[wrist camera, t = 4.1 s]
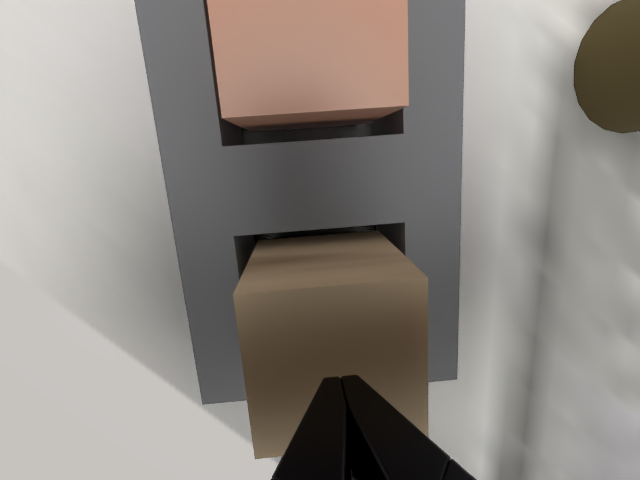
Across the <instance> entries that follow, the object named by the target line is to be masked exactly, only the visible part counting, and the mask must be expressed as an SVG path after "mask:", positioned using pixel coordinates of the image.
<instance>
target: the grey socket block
mask: <svg viewBox="0 0 640 480" xmlns="http://www.w3.org/2000/svg"><path fill="white" fill-rule="evenodd" d="M134 1H135V7H136V13H137V19H138V25H139V31H140V37H141V43H142V49H143V55H144V61H145V67H146V73H147V78H148V84H149V90H150V96H151V102H152V108H153V114H154V120H155V126H156V132H157V138H158V144H159V150H160V155H161V161H162V167H163V173H164V179H165V185H166V191H167V197H168V203H169V209H170V215H171V221H172V227H173V232H174V238H175V244H176V250H177V256H178V262H179V268H180V274H181V280H182V286H183V292H184V298H185V304H186V309H187V315H188V321H189V327H190V333H191V339H192V345H193V351H194V357H195V363H196V369H197V375H198V381H199V386H200V392H201V398H202V404H213V403H224V402H234V401H244V400H247V396H246V388H245V381H244V373H243V366H242V359H241V351H240V344H239V336H238V329H237V322H236V314H235V307H234V299H233V293H234V291H235V289H236V287H237V285H238V282H239V280H240V278H241V276H242V274H243V272H244V270H245V267H246V265H247V263H248V261H249V259H250V257H251V255H252V253H253V250H254V248H255V237H254V234H266V233H279V232H291V231H304V230H316V229H329V228H341V227H353V226H366V225H376V231H379V232H380V233H381V234H382V235H384V236H385V237H386V238H387V239H388V240H389V241H390V242H391V243H392V244H393V245H394V246H395V247H396V248H397V249H398V250H400V251H401V252H402V253H403V254H404V255H405V256H406V257H407V258H408V259H409V260H410V261H411V262H412V263H413V264H414V265H415V266H417V267H418V268H419V269H420V270H421V271H422V272H423V273H424V274H425V275H426V276H427V277H428V382H434V381H445V380H455V379H457V363H458V317H459V271H460V225H461V179H462V133H463V87H464V41H465V0H408V77H409V106H407V107H404V108H402V109H400V110H398V111H396V112H393V113H391V114H389V115H387V116H384V117H382V118H380V119H378V120H376V121H373V136H365V137H351V138H337V139H323V140H308V141H294V142H280V143H266V144H252V145H244V142H243V133H242V128H241V127H239V126H237V125H235V124H233V123H231V122H229V121H227V120H225V119H223V118H222V115H221V107H220V100H219V92H218V84H217V76H216V68H215V60H214V52H213V45H212V37H211V29H210V21H209V13H208V5H207V0H134Z"/></svg>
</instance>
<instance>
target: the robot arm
mask: <svg viewBox="0 0 640 480" xmlns="http://www.w3.org/2000/svg"><path fill="white" fill-rule="evenodd" d="M271 480H476V479H475V478H474V477H473V476H471V475H470V474H469V473H468V472H467V471H466V470H464V469H463V468H462V467H461V466H460V465H459V464H458V463H457V462H455V461H454V460H453V459H451V458H450V456H449V455H447V454H446V453H445V452H444V451H443V450H442V449H441V448H440V447H438V446H437V445H436V444H435V443H434V442H433V441H432V440H431V439H429V438H428V437H427V436H426V435H425V434H424V433H423V432H422V431H420V430H419V429H418V428H417V427H416V426H415V425H414V424H413V423H411V422H410V421H409V420H408V419H407V418H406V417H405V416H404V415H402V414H401V413H400V412H399V411H398V410H397V409H396V408H395V407H393V406H392V405H391V404H390V403H389V402H388V401H387V400H386V399H384V398H383V397H382V396H381V395H380V394H379V393H378V392H377V391H375V390H374V389H373V388H372V387H371V386H370V385H369V384H368V383H366V382H365V381H364V380H363V379H362V378H361V377H360V376H358V375H346V376H342V377H341V379H340V377H338V376H336V377H325V378H323V380H322V381H321V383H320V385H319V387H318V389H317V391H316V393H315V395H314V397H313V399H312V401H311V403H310V404H309V406H308V408H307V410H306V412H305V414H304V416H303V418H302V420H301V422H300V424H299V426H298V428H297V430H296V431H295V433H294V435H293V437H292V439H291V441H290V443H289V445H288V447H287V449H286V451H285V453H284V455H283V456H282V458H281V460H280V462H279V464H278V466H277V468H276V470H275V472H274V474H273V476H272V479H271Z"/></svg>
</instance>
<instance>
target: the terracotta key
mask: <svg viewBox="0 0 640 480" xmlns="http://www.w3.org/2000/svg"><path fill="white" fill-rule="evenodd" d="M207 5H208V13H209V21H210V29H211V37H212V45H213V52H214V60H215V68H216V76H217V84H218V92H219V100H220V107H221V115H222V118H223V119H225V120H227V121H229V122H231V123H233V124H235V125H237V126H239V127H241V128H243V129H245V130H247V131H249V132H260V131H275V130H289V129H304V128H318V127H333V126H347V125H362V124H369V123H371V122H373V121H376V120H378V119H380V118H382V117H384V116H387V115H389V114H391V113H393V112H396V111H398V110H400V109H402V108H404V107H407V106H409V77H408V0H207Z"/></svg>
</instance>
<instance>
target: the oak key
mask: <svg viewBox="0 0 640 480" xmlns="http://www.w3.org/2000/svg"><path fill="white" fill-rule="evenodd" d="M233 299H234V307H235V314H236V322H237V329H238V336H239V344H240V351H241V359H242V366H243V373H244V381H245V388H246V396H247V403H248V411H249V418H250V425H251V433H252V440H253V448H254V455H255V459H260V458H269V457H278V456H283V455H284V453H285V451H286V449H287V447H288V445H289V443H290V441H291V439H292V437H293V435H294V433H295V431H296V430H297V428H298V426H299V424H300V422H301V420H302V418H303V416H304V414H305V412H306V410H307V408H308V406H309V404H310V403H311V401H312V399H313V397H314V395H315V393H316V391H317V389H318V387H319V385H320V383H321V381H322V380H323V378H325V377H336V376H338V377H340V379H341V377H342V376H346V375H358V376H360V377H361V378H362V379H363V380H364V381H365V382H366V383H368V384H369V385H370V386H371V387H372V388H373V389H374V390H375V391H377V392H378V393H379V394H380V395H381V396H382V397H383V398H384V399H386V400H387V401H388V402H389V403H390V404H391V405H392V406H393V407H395V408H396V409H397V410H398V411H399V412H400V413H401V414H402V415H404V416H405V417H406V418H407V419H408V420H409V421H410V422H411V423H413V424H414V425H415V426H416V427H417V428H418V429H419V430H420V431H422V432H423V433H424V434H425V435H426V436H427V437H428V277H427V276H426V275H425V274H424V273H423V272H422V271H421V270H420V269H419V268H418V267H417V266H415V265H414V264H413V263H412V262H411V261H410V260H409V259H408V258H407V257H406V256H405V255H404V254H403V253H402V252H401V251H400V250H398V249H397V248H396V247H395V246H394V245H393V244H392V243H391V242H390V241H389V240H388V239H387V238H386V237H385V236H384V235H382V234H381V233H380V232H379V231H366V232H354V233H342V234H329V235H317V236H305V237H292V238H280V239H268V240H258V242H257V244H256V246H255V248H254V250H253V253H252V255H251V257H250V259H249V261H248V263H247V265H246V267H245V270H244V272H243V274H242V276H241V278H240V280H239V282H238V285H237V287H236V289H235V291H234V293H233Z"/></svg>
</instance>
